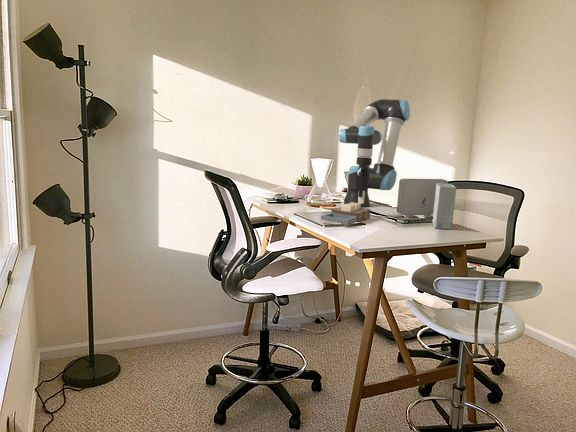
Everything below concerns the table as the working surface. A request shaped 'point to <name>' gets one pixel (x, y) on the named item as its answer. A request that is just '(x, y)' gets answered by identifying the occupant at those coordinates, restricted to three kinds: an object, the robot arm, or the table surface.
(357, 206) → the tile
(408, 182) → the network device
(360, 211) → the bench plate
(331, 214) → the box
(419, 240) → the table surface
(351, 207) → the tile
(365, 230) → the table surface
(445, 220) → the hard drive box
